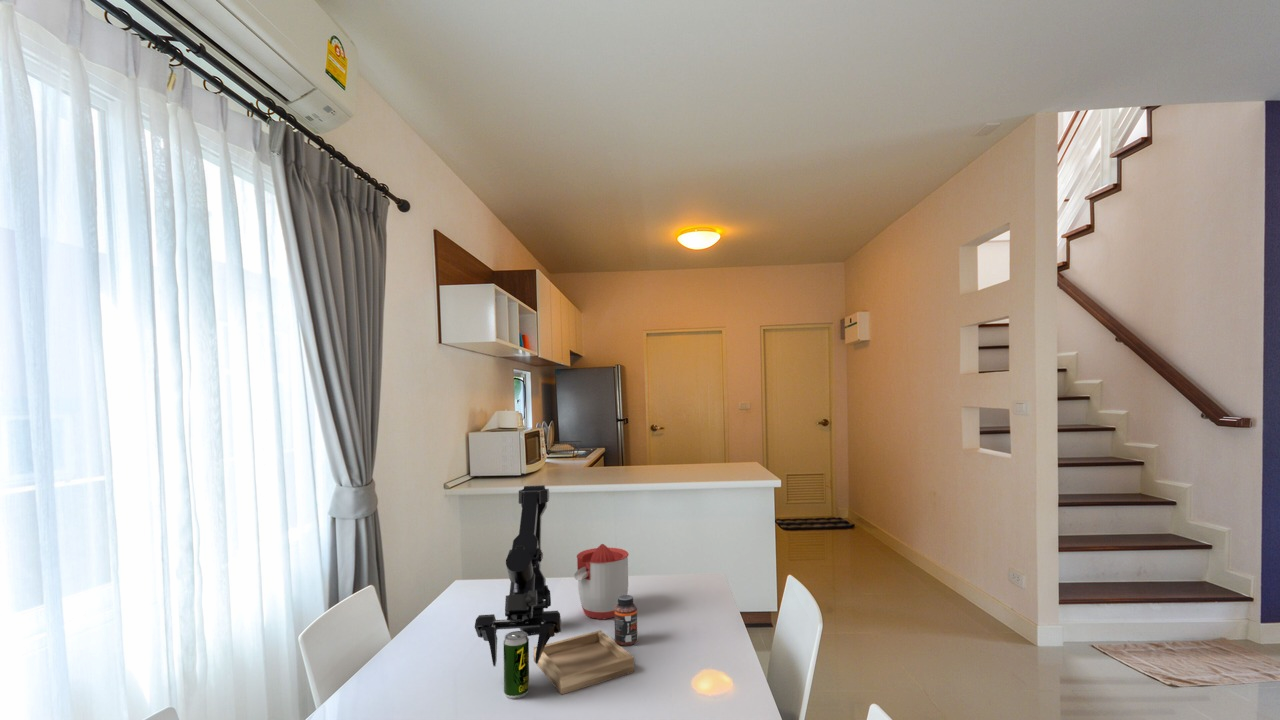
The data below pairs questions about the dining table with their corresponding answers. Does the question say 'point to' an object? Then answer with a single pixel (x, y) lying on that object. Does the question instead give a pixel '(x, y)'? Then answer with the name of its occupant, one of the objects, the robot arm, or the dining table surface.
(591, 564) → the citrus juicer
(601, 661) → the wooden tray
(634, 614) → the supplement bottle
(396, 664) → the dining table surface
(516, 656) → the beer can
